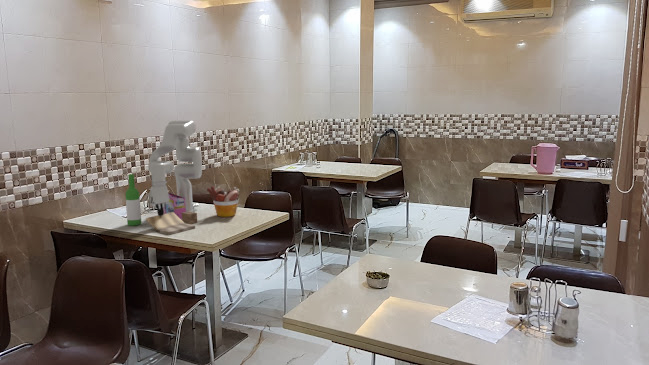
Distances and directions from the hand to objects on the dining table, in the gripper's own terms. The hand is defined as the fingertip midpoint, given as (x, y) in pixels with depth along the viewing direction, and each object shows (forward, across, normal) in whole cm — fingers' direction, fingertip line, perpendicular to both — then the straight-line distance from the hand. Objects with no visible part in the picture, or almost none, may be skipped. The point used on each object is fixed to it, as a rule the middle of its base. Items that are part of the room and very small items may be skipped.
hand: (160, 215), depth 293 cm
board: (+7, 0, +15) cm, 16 cm away
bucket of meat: (+7, -41, +9) cm, 43 cm away
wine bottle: (+7, +7, -17) cm, 19 cm away
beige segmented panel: (+4, 0, +4) cm, 6 cm away
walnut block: (+7, -16, +5) cm, 18 cm away
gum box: (+7, -19, -14) cm, 25 cm away
